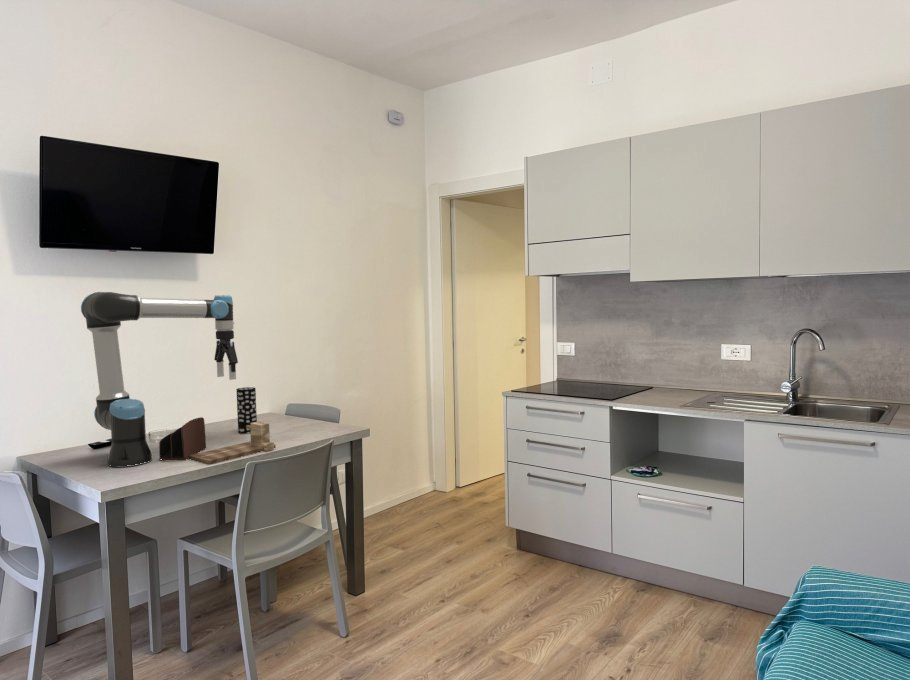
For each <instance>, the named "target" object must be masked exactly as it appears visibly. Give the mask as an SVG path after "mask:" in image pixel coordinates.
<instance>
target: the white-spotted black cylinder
mask: <svg viewBox="0 0 910 680" xmlns="http://www.w3.org/2000/svg"><path fill="white" fill-rule="evenodd" d="M256 390H257V389H256V387H253V386H251V387H250V386H247V387H238V388H236V411H237V433H238V434H240V435H241V434H242V435H244V434H245V435H246V434H247V433H249V434H251V429H248V428H246V425H250V423H253V422H258V420H257V419H258V416H257V392H256Z"/></svg>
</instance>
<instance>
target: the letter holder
mask: <svg viewBox="0 0 910 680" xmlns="http://www.w3.org/2000/svg"><path fill="white" fill-rule="evenodd" d="M206 437H207V436H206V424H205V419H204V417H202V416H201V417H196V418H193V419H191V420H188V421H187V422H186V423H185V424H183V425H182V426H181V427H178V428H177V429H176V430H174V431H173V432H171V433H169V434H166V436H164V437H163V438H161V440H160V441H159V460H160V459H162V460H185V461H186V459H187V460H189V457H188V455H193V454H197V453H198V452H199V453H201V452H203V451H205V450H206V449H207V439H206ZM205 448H206V449H205ZM200 451H201V452H200Z"/></svg>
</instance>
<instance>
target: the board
mask: <svg viewBox="0 0 910 680" xmlns="http://www.w3.org/2000/svg"><path fill="white" fill-rule="evenodd" d="M274 448H275V449H277V448H276V444H275V443H274ZM261 451H263V452H265V451H264V448H263V447H258V446H254V445H251V440H249V441H246V442H241V443H236V444H233V445H227V446H224V447H220V448H219V447H218V448H215V449H211V450H207V451H201V452H199V453H197V454H193V455H188V457H189V458H188V460H189V459H191V460H190V461H193V460H194V462H197V461H198V463H201V462H202V463H201V464H205V463H206V464H205V465H209V464H210V465H214V464H218V463H222V462H226V461H229V459H230V460H235V459H238V458H241V456H243V457H246V456H245V455H247V456H250V455H249V454H251V455H254V454H253V453H255V454H258V453H257V452H259V453H262V452H261ZM225 460H226V461H225ZM221 461H222V462H221ZM217 462H218V463H217ZM213 463H214V464H213Z"/></svg>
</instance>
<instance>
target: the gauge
mask: <svg viewBox="0 0 910 680" xmlns="http://www.w3.org/2000/svg"><path fill="white" fill-rule="evenodd" d="M246 428H248V429H251V433H250V441H251V445H254V446H258V447H263V448H264V451H263V452H268V451H272V450H275V449H274V444H275V443H274V442H273V441H270V440H271V439H270V433H271V432H270V423H269V422H264V421H263V422H262V421H258V420H257V422H253V423H250V425H246Z"/></svg>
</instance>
